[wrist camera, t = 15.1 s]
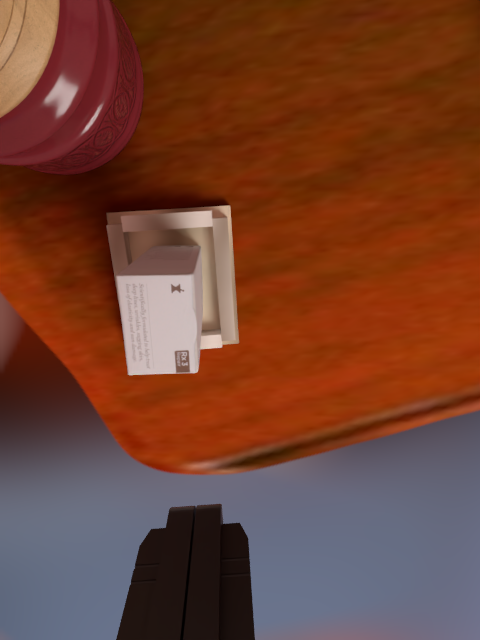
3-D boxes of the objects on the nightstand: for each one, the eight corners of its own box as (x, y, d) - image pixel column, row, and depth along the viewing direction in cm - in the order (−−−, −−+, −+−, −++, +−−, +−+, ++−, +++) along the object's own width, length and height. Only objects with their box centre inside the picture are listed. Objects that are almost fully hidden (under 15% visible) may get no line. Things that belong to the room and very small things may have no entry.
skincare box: (150, 245, 31) (106, 269, 19) (204, 244, 31) (194, 267, 19) (156, 316, 32) (119, 378, 21) (207, 315, 33) (199, 375, 21)
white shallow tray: (229, 205, 31) (230, 205, 28) (238, 339, 34) (239, 349, 32) (109, 212, 31) (100, 213, 28) (130, 347, 34) (124, 357, 32)
